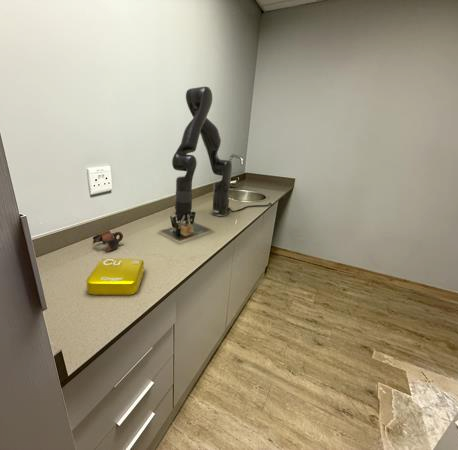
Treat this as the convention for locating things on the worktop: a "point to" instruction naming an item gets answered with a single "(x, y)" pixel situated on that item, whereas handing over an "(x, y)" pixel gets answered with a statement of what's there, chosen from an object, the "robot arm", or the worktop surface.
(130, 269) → the element tile
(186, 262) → the worktop surface
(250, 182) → the worktop surface
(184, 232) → the eraser
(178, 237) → the chalkboard
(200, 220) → the worktop surface
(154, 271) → the worktop surface
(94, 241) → the brown teapot
